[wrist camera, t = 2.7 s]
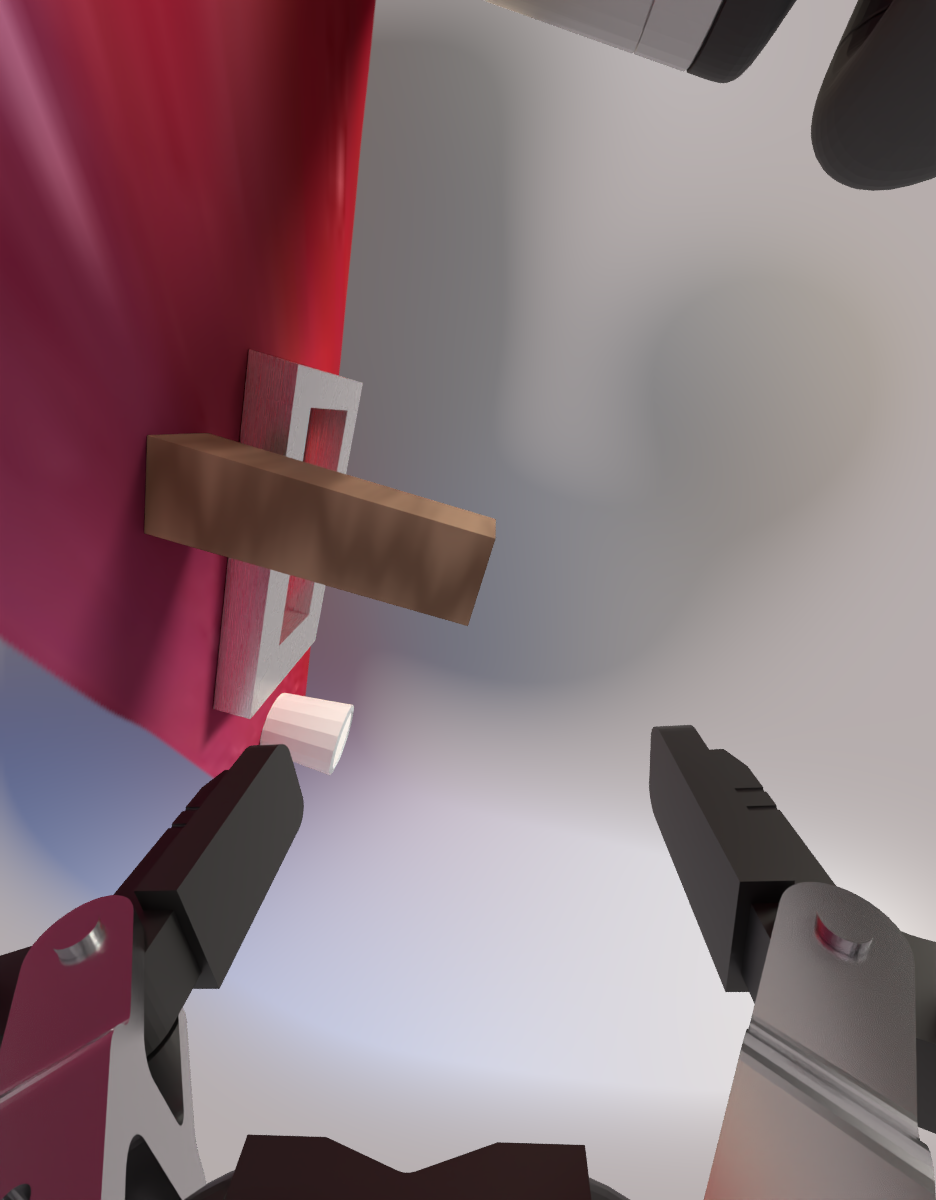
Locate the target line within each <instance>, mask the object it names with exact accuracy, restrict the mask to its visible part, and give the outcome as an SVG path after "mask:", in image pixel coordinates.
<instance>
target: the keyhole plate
mask: <svg viewBox="0 0 936 1200" xmlns="http://www.w3.org/2000/svg"><path fill="white" fill-rule="evenodd" d="M362 385H363V383H361V382H357V381H354V380H351V379H348V378H344V377H341V376H338V375H335V374H332V373H328V372H325V371H322V370H318V369H315V368H311V367H308V366H305V365H301V364H298V363H294V362H291V361H288V360H284V359H281V358H277V357H274V356H271V355H267V354H264V353H261V352H257V351H254V350H250V349H249V354H248V364H247V374H246V384H245V394H244V404H243V414H242V424H241V434H240V443H243V444H246V445H249V446H253V447H256V448H259V449H263V450H266V451H269V452H273V453H276V454H279V455H283V456H286V457H289V458H293V459H296V460H299V461H303V457H304V462H306V463H310V464H313V465H316V466H320V467H323V468H326V469H330V470H333V471H336V472H340V473H343V474H346V471H347V466H348V460H349V455H350V450H351V443H352V438H353V433H354V427H355V422H356V417H357V412H358V406H359V401H360V395H361V390H362ZM311 408H312V410H311ZM310 410H311V416H310ZM309 416H310V423H309ZM308 423H309V430H308ZM307 430H308V436H307ZM306 436H307V443H306ZM305 443H306V450H305ZM304 450H305V456H304ZM324 591H325V585H323V584H319V583H316V582H312V581H309V580H305V579H302V578H298V577H295V576H291V575H288V574H284V573H281V572H278V571H274V570H271V569H267V568H264V567H260V566H257V565H253V564H250V563H246V562H243V561H239V560H236V559H232V558H229V557H228V565H227V575H226V585H225V595H224V605H223V615H222V625H221V636H220V646H219V656H218V666H217V676H216V686H215V696H214V706H213V709H215V710H219V711H223V712H226V713H230V714H234V715H237V716H241V717H245V718H249V719H251V717H252V716H253V715H254V714H255V713H256V711H257V710H258V709H259V708H260V707H261V705H262V704H263V703H264V702H265V700H266V699H267V698H268V697H269V696H270V694H271V693H272V692H273V691H274V690H275V688H276V687H277V686H278V685H279V684H280V682H281V681H282V680H283V679H284V677H285V676H286V675H287V674H288V673H289V671H290V670H291V669H292V668H293V667H294V665H295V664H296V663H297V662H298V661H299V659H300V658H301V657H302V656H303V654H304V653H305V652H306V651H307V650H308V648H309V647H310V646H311V645H312V643H313V642H314V641H315V639H316V634H317V628H318V623H319V618H320V612H321V607H322V601H323V596H324Z"/></svg>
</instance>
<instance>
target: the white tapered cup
mask: <svg viewBox="0 0 936 1200" xmlns="http://www.w3.org/2000/svg"><path fill="white" fill-rule="evenodd" d="M353 711H354V706H353V705H350V704H344V703H338V702H333V701H327V700H322V699H316V698H310V697H305V696H299V695H293V694H288V693H282V694H281V695H280V696H279V697H278V698H277V699H276V701H275V702H274V704H273V705H272V707H271V709H270V711H269V714H268V716H267V718H266V721H265V724H264V727H263V730H262V734H261V739H260V745H274V744H284V745H286V746H287V747H288V749H289V751H290V753H291V757H292V761H293V762H296V763H298V764H301V765H304V766H306V767H309V768H312V769H314V770H317V771H320V772H323V773H325V774H328V775H330V774H331V773H332V772H333V771H334V769H335V767H336V764H337V763H338V761H339V759H340V756H341V754H342V751H343V749H344V746H345V743H346V740H347V737H348V734H349V730H350V726H351V722H352V717H353Z"/></svg>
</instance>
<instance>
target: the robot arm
mask: <svg viewBox="0 0 936 1200" xmlns="http://www.w3.org/2000/svg"><path fill="white" fill-rule="evenodd" d="M483 1H486V2H489V3H492V4H495V5H497V6H500V7H503V8H506V9H509V10H511V11H514V12H517V13H520V14H523V15H525V16H528V17H531V18H534V19H537V20H540V21H543V22H545V23H548V24H551V25H554V26H556V27H560V28H562V29H565V30H568V31H570V32H573V33H576V34H579V35H582V36H584V37H587V38H590V39H593V40H596V41H599V42H602V43H604V44H607V45H610V46H613V47H615V48H619V49H621V50H624V51H627V52H630V53H633V52H634V54H636V55H639V56H642V57H644V58H647V59H650V60H653V61H655V62H658V63H661V64H664V65H667V66H670V67H672V68H675V69H678V70H681V71H685V70H687V73H690V74H693V75H696V76H698V77H701V78H704V79H707V80H710V81H714V82H718V83H727V82H730V81H733V80H735V79H736V78H738V77H739V76H740V75H741V74H742V73H743V72H744V71H745V70H746V69H747V68H748V67H749V66H750V65H751V64H752V63H753V61H754V60H755V59H756V57H757V56H758V55H759V53H760V52H761V51H762V49H763V48H764V47H765V45H766V44H767V43H768V41H769V40H770V38H771V37H772V36H773V34H774V33H775V31H776V30H777V28H778V27H779V25H780V24H781V22H782V21H783V19H784V18H785V16H786V15H787V13H788V12H789V10H790V9H791V8H792V6H793V4H794V3H795V2H796V0H483ZM811 139H812V145H813V149H814V152H815V156H816V158H817V160H818V161H819V163H820V165H821V166H822V168H823V170H824V171H825V172H826V173H827V174H828V175H829V176H831V177H832V178H833V179H834V180H836V181H838V182H839V183H842V184H844V185H846V186H849V187H851V188H855V189H863V190H873V191H874V190H891V189H895V188H900V187H905V186H910V185H913V184H916V183H920V182H923V181H926V180H929V179H932V178H934V177H936V0H858V2H857V4H856V6H855V9H854V11H853V14H852V15H851V18H850V20H849V22H848V25H847V27H846V29H845V31H844V34H843V36H842V38H841V40H840V43H839V45H838V47H837V50H836V52H835V54H834V56H833V59H832V61H831V63H830V66H829V68H828V70H827V73H826V75H825V78H824V80H823V83H822V86H821V88H820V91H819V94H818V97H817V100H816V104H815V108H814V112H813V118H812V125H811ZM649 791H650V799H651V804H652V809H653V813H654V816H655V818H656V821H657V823H658V826H659V828H660V831H661V833H662V836H663V838H664V841H665V843H666V846H667V848H668V851H669V853H670V856H671V858H672V860H673V863H674V866H675V868H676V870H677V873H678V875H679V878H680V880H681V883H682V885H683V888H684V890H685V893H686V895H687V897H688V900H689V903H690V905H691V908H692V910H693V912H694V915H695V917H696V920H697V922H698V925H699V927H700V930H701V932H702V935H703V937H704V940H705V942H706V945H707V947H708V949H709V952H710V955H711V957H712V959H713V962H714V964H715V967H716V969H717V972H718V974H719V977H720V979H721V982H722V984H723V986H724V989H725V991H726V992H750V994H751V997H752V999H753V1001H754V1004H755V1006H754V1010H753V1014H752V1018H751V1022H750V1025H749V1029H747V1030H746V1034H745V1037H744V1040H743V1044H742V1048H741V1051H740V1055H739V1059H738V1063H737V1068H736V1071H735V1076H734V1080H733V1084H732V1088H731V1092H730V1096H729V1100H728V1104H727V1108H726V1112H725V1116H724V1120H723V1124H722V1128H721V1132H720V1136H719V1140H718V1144H717V1148H716V1153H715V1157H714V1161H713V1165H712V1169H711V1173H710V1177H709V1181H708V1185H707V1189H706V1193H705V1197H704V1200H936V1198H935V1180H934V1170H933V1163H932V1158H931V1154H930V1151H929V1148H928V1146H927V1145H926V1144H925V1143H923V1142H922V1141H920V1138H919V1134H918V1127H920V1128H923V1129H925V1130H928V1131H930V1132H933V1133H935V1134H936V942H933V941H929V940H926V939H922V938H918V937H916V936H912V935H909V934H907V933H904V932H901V931H900V930H899V928H898V927H897V926H896V925H895V924H894V923H893V922H892V921H891V920H890V919H889V918H888V917H887V916H886V915H885V914H884V913H882V911H880V910H879V909H878V908H876V907H875V906H874V905H872V904H871V903H870V902H868V901H866V900H865V899H863V898H861V897H860V896H858V895H856V894H853V893H852V892H850V891H848V890H845V889H842V888H840V887H837V886H836V885H835V884H834V883H833V881H832V880H831V879H830V877H829V876H828V875H827V873H826V872H825V870H824V869H823V868H822V866H821V865H820V864H819V862H818V861H817V860H816V858H815V857H814V855H813V854H812V853H811V851H810V850H809V849H808V847H807V846H806V845H805V843H804V842H803V841H802V839H801V838H800V837H799V835H798V834H797V832H796V831H795V830H794V828H793V827H792V826H791V824H790V823H789V822H788V820H787V819H786V818H785V817H784V815H783V814H782V812H781V811H780V810H777V808H776V804H775V803H774V801H773V800H772V799H771V798H770V796H769V795H768V793H767V792H764V790H763V787H762V785H761V784H760V783H759V781H758V780H757V778H756V777H755V776H754V775H753V773H752V772H751V770H750V769H749V768H748V766H746V765H745V764H744V763H742V762H741V761H739V760H738V759H737V758H735V757H734V756H732V755H731V754H730V753H728V752H727V751H726V750H724V749H715V750H709V749H708V747H707V746H706V744H705V743H704V741H703V740H702V738H701V737H700V735H699V734H698V732H697V731H696V729H695V728H694V727H693V726H692V725H680V726H660V727H653V729H652V732H651V751H650V778H649ZM303 808H304V805H303V796H302V793H301V789H300V786H299V782H298V779H297V775H296V772H295V768H294V764H293V761H292V757H291V753H290V751H289V749H288V747H287V746H286V745H284V744H274V745H254V746H249V747H248V748H246V749H245V751H244V752H243V753H242V754H241V756H240V757H239V758H238V759H237V761H236V762H235V763H234V764H233V766H232V767H231V768H230V770H224V771H223V772H222V773H220V774H219V775H218V776H216V777H215V778H214V779H212V780H211V781H210V782H209V783H207V784H206V785H205V786H204V787H202V788H201V789H200V791H199V792H198V793H197V794H196V795H195V797H194V798H193V799H192V800H191V802H190V803H189V804H188V805H187V806H186V810H185V811H183V812H181V814H180V815H179V816H178V817H177V818H176V820H175V821H174V822H173V823H172V827H171V828H168V829H167V831H166V832H165V833H164V834H163V835H162V837H161V838H160V839H159V840H158V841H157V843H156V844H155V845H154V846H153V847H152V849H151V850H150V851H149V852H148V854H147V855H146V856H145V857H144V858H143V860H142V861H141V862H140V863H139V864H138V866H137V867H136V868H135V870H133V872H132V873H131V874H130V876H129V877H128V878H127V879H126V880H125V881H124V883H123V884H122V885H121V886H120V887H119V889H118V890H117V891H116V892H115V894H114V895H110V896H105V897H101V898H98V899H95V900H92V901H90V902H87V903H85V904H83V905H81V906H79V907H77V908H75V909H74V910H72V911H71V912H69V913H67V914H66V915H65V916H63V917H62V918H61V919H59V920H58V921H57V922H55V923H54V924H53V925H52V926H51V927H49V928H48V929H47V930H46V931H45V932H44V933H43V934H42V935H41V936H40V937H39V938H38V940H37V941H36V942H35V943H34V944H33V946H30V947H27V948H24V949H21V950H17V951H14V952H11V953H8V954H4V955H1V956H0V1200H630V1199H628V1198H626V1197H625V1196H623V1195H622V1194H620V1193H618V1192H617V1191H615V1190H614V1189H612V1188H610V1187H609V1186H607V1185H604V1184H602V1183H600V1182H597V1181H595V1180H593V1179H591V1178H589V1176H588V1168H587V1159H586V1151H585V1145H563V1144H531V1143H530V1144H529V1143H495V1144H492V1145H489V1146H486V1147H484V1148H481V1149H478V1150H475V1151H472V1152H469V1153H467V1154H464V1155H461V1156H458V1157H456V1158H453V1159H450V1160H447V1161H444V1162H441V1163H438V1164H436V1165H433V1166H430V1167H427V1168H424V1169H421V1170H419V1171H416V1172H411V1173H403V1172H400V1171H397V1170H395V1169H393V1168H391V1167H388V1166H386V1165H384V1164H382V1163H380V1162H378V1161H376V1160H374V1159H372V1158H369V1157H367V1156H365V1155H363V1154H361V1153H359V1152H357V1151H354V1150H352V1149H350V1148H348V1147H346V1146H344V1145H342V1144H340V1143H338V1142H336V1141H333V1140H331V1139H329V1138H327V1137H303V1136H271V1135H247V1138H246V1141H245V1144H244V1147H243V1149H242V1152H241V1155H240V1158H239V1161H238V1163H237V1166H236V1169H235V1170H234V1171H231V1172H229V1173H227V1174H225V1175H223V1176H221V1177H219V1178H217V1179H215V1180H214V1181H212V1182H210V1183H208V1184H206V1180H205V1176H204V1172H203V1168H202V1165H201V1162H200V1158H199V1154H198V1149H197V1144H196V1139H195V1129H194V1116H193V1102H192V1088H191V1074H190V1061H189V1047H188V1032H187V1019H186V1014H185V1012H184V1010H183V1008H182V1007H183V1005H184V1004H185V1002H186V1000H187V998H188V996H189V994H190V993H191V991H192V989H219V988H220V986H221V984H222V982H223V980H224V978H225V976H226V974H227V972H228V970H229V968H230V966H231V964H232V962H233V960H234V958H235V956H236V954H237V952H238V950H239V948H240V946H241V944H242V942H243V940H244V938H245V936H246V934H247V932H248V930H249V928H250V926H251V924H252V922H253V920H254V918H255V916H256V914H257V912H258V910H259V908H260V906H261V904H262V902H263V900H264V898H265V896H266V894H267V892H268V890H269V888H270V886H271V884H272V882H273V880H274V878H275V876H276V874H277V872H278V870H279V867H280V866H281V864H282V862H283V860H284V858H285V856H286V854H287V852H288V850H289V848H290V846H291V843H292V842H293V840H294V838H295V835H296V834H297V831H298V830H299V827H300V825H301V821H302V817H303Z"/></svg>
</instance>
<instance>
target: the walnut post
mask: <svg viewBox="0 0 936 1200" xmlns="http://www.w3.org/2000/svg"><path fill="white" fill-rule="evenodd" d="M495 522H496V520H495V519H493V518H490V517H486V516H483V515H480V514H476V513H473V512H470V511H466V510H463V509H460V508H457V507H453V506H450V505H446V504H443V503H440V502H437V501H433V500H430V499H427V498H423V497H420V496H416V495H413V494H410V493H406V492H403V491H400V490H396V489H393V488H390V487H386V486H383V485H380V484H376V483H373V482H370V481H366V480H363V479H359V478H356V477H353V476H350V475H346V474H343V473H340V472H336V471H333V470H330V469H326V468H323V467H320V466H316V465H313V464H310V463H306V462H303V461H299V460H296V459H293V458H289V457H286V456H283V455H279V454H276V453H273V452H269V451H266V450H263V449H259V448H256V447H253V446H249V445H246V444H243V443H239V442H236V441H233V440H229V439H226V438H223V437H219V436H216V435H213V434H209V433H192V434H166V435H147V459H146V494H145V528H144V533H145V534H148V535H152V536H155V537H159V538H162V539H166V540H169V541H173V542H176V543H180V544H183V545H187V546H190V547H194V548H197V549H201V550H204V551H208V552H211V553H215V554H218V555H222V556H225V557H229V558H232V559H236V560H239V561H243V562H246V563H250V564H253V565H257V566H260V567H264V568H267V569H271V570H274V571H278V572H281V573H284V574H288V575H291V576H295V577H298V578H302V579H305V580H309V581H312V582H316V583H319V584H323V585H326V586H330V587H334V588H337V589H340V590H344V591H347V592H351V593H354V594H358V595H361V596H365V597H369V598H372V599H375V600H379V601H383V602H386V603H389V604H393V605H396V606H400V607H403V608H407V609H410V610H414V611H417V612H421V613H424V614H428V615H431V616H435V617H438V618H442V619H445V620H449V621H452V622H456V623H459V624H463V625H466V626H468V624H469V621H470V617H471V614H472V611H473V608H474V605H475V601H476V598H477V595H478V592H479V589H480V586H481V583H482V579H483V576H484V573H485V570H486V567H487V563H488V561H489V557H490V554H491V551H492V548H493V544H494V542H495Z"/></svg>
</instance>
